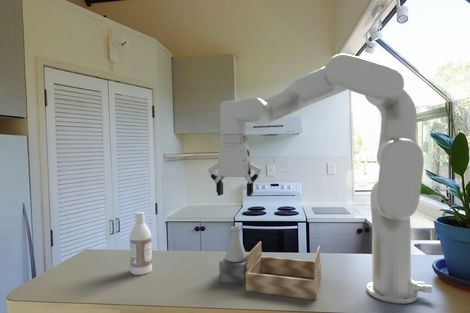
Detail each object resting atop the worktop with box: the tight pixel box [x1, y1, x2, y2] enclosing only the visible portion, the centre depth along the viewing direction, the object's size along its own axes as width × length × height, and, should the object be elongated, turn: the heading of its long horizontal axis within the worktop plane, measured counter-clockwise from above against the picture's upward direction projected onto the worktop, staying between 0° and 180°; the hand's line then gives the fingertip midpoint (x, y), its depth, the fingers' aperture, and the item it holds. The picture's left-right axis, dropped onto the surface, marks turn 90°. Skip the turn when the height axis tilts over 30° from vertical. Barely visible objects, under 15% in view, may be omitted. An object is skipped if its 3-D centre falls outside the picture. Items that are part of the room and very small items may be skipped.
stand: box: [218, 256, 246, 286], centre depth 102 cm, size 8×8×6 cm
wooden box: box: [245, 240, 322, 301], centre depth 96 cm, size 20×16×10 cm
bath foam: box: [129, 211, 153, 276], centre depth 109 cm, size 7×7×20 cm
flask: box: [225, 225, 247, 262], centre depth 101 cm, size 7×7×10 cm
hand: (234, 195), depth 101 cm, fingers open, 9 cm apart
